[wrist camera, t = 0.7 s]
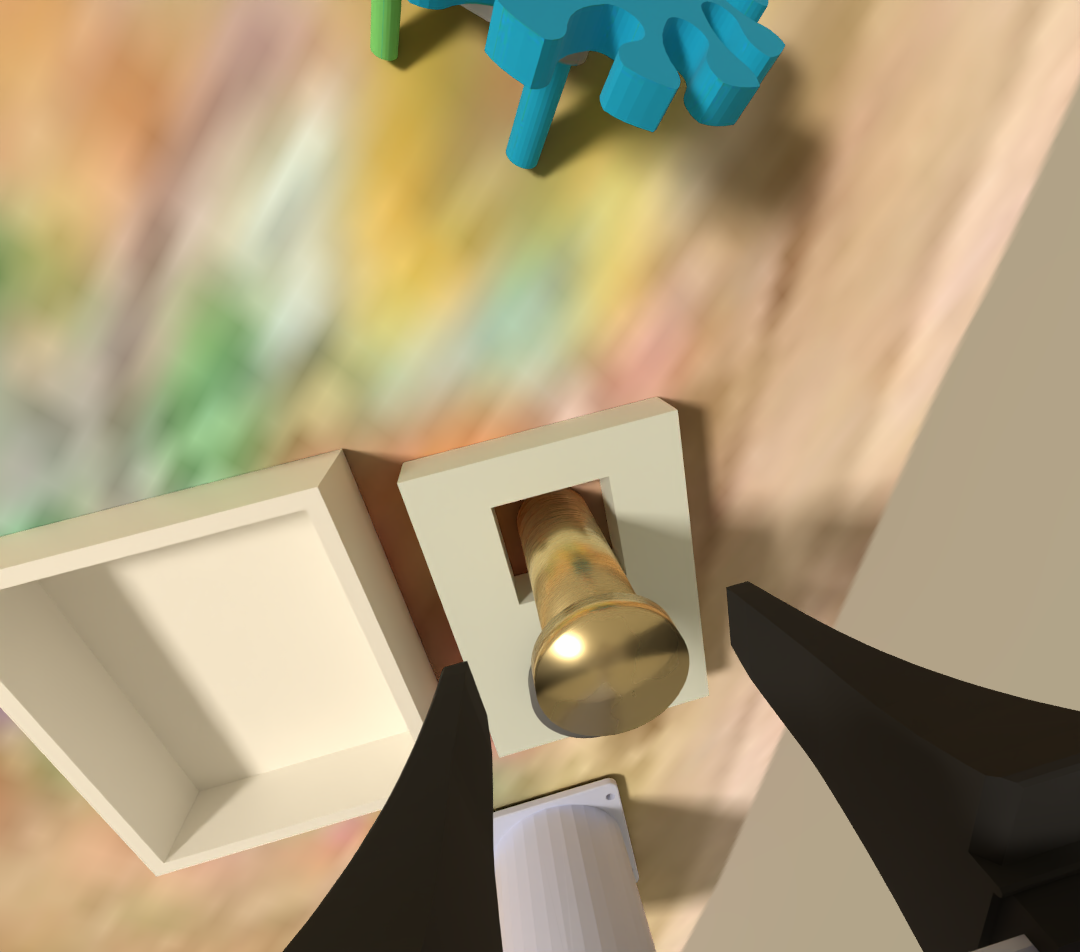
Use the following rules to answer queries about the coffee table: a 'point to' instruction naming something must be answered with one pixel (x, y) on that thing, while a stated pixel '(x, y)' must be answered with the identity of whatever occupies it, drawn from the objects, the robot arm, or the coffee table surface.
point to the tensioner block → (506, 600)
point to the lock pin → (593, 625)
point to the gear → (614, 56)
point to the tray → (216, 660)
